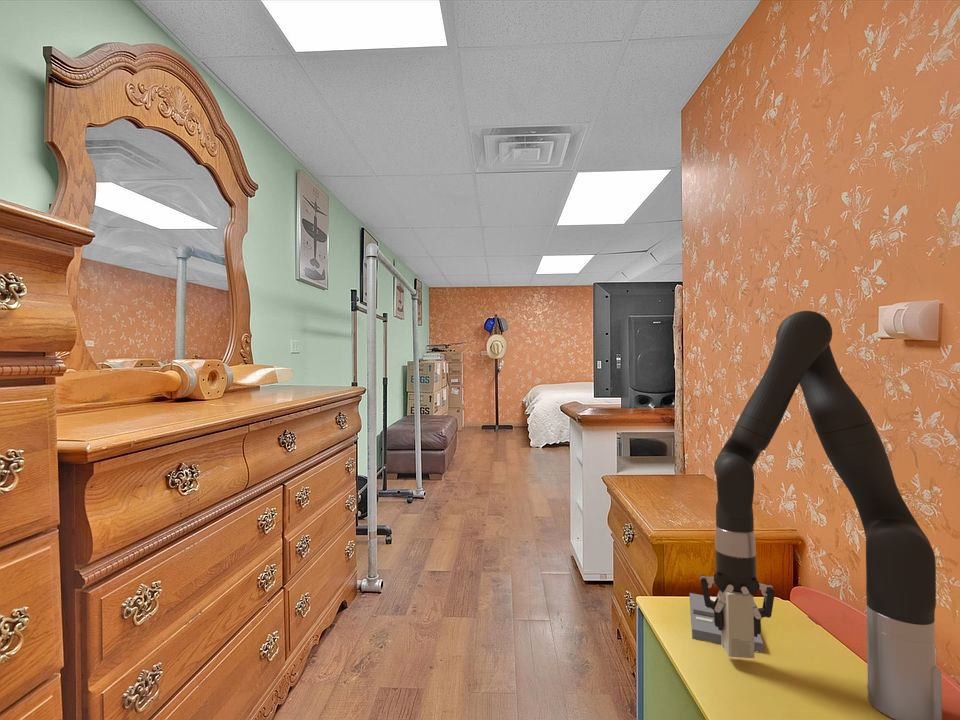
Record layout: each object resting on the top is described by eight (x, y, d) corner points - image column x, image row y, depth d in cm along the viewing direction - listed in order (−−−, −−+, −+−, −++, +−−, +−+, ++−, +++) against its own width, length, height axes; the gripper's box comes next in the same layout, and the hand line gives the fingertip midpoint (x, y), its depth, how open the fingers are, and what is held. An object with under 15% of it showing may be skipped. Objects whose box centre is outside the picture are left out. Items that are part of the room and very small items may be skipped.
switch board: (749, 611, 120) (749, 602, 120) (763, 653, 101) (763, 642, 102) (689, 600, 125) (689, 592, 125) (692, 638, 107) (692, 628, 107)
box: (745, 647, 100) (745, 586, 100) (755, 660, 95) (755, 595, 96) (719, 645, 100) (719, 584, 101) (727, 657, 96) (728, 593, 96)
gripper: (698, 551, 98) (700, 633, 97) (778, 560, 93) (781, 648, 92) (696, 540, 105) (698, 617, 104) (771, 548, 100) (773, 630, 99)
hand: (737, 631), depth 98 cm, fingers closed on box, 6 cm apart
